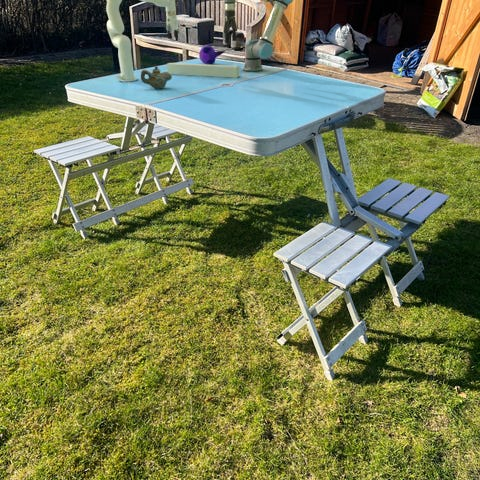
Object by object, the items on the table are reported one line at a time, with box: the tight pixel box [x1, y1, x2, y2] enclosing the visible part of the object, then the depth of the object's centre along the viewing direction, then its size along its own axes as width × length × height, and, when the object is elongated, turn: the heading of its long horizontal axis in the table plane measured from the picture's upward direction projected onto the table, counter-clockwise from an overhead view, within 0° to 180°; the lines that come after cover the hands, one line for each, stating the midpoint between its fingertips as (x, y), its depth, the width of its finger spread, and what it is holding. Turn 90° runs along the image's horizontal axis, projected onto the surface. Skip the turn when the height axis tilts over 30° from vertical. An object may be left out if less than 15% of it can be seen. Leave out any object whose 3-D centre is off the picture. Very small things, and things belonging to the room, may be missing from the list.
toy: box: [198, 45, 226, 65], centre depth 391 cm, size 16×18×27 cm
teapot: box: [140, 65, 173, 90], centre depth 311 cm, size 21×12×15 cm, turn 109°
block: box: [166, 62, 240, 79], centre depth 354 cm, size 60×6×8 cm, turn 69°
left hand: (173, 38), depth 350 cm, fingers open, 9 cm apart
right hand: (230, 42), depth 335 cm, fingers open, 13 cm apart
